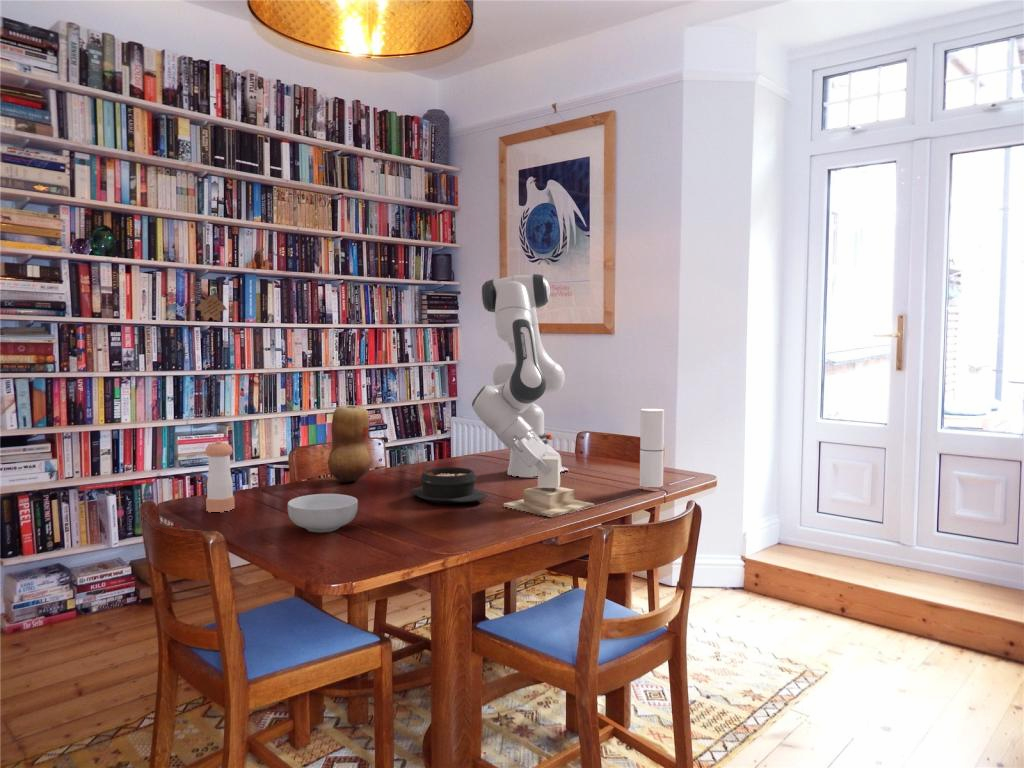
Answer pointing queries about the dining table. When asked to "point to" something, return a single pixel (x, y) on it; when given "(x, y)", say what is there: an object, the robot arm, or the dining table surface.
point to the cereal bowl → (322, 511)
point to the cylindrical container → (651, 447)
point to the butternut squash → (349, 443)
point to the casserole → (448, 486)
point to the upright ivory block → (554, 476)
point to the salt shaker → (219, 478)
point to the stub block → (548, 501)
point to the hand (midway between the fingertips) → (551, 470)
